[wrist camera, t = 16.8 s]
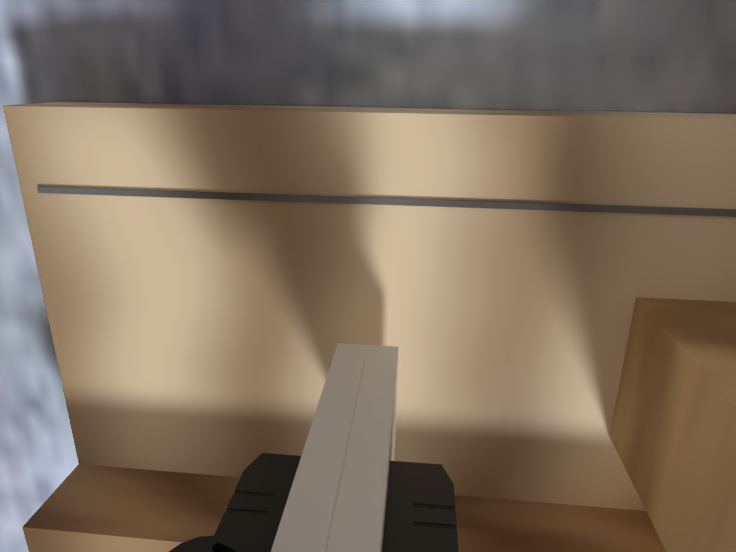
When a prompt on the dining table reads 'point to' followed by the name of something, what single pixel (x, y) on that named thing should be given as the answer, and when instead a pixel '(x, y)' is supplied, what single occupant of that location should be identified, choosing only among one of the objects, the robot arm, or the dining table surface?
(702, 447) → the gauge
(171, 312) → the board
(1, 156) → the dining table surface
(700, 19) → the dining table surface
